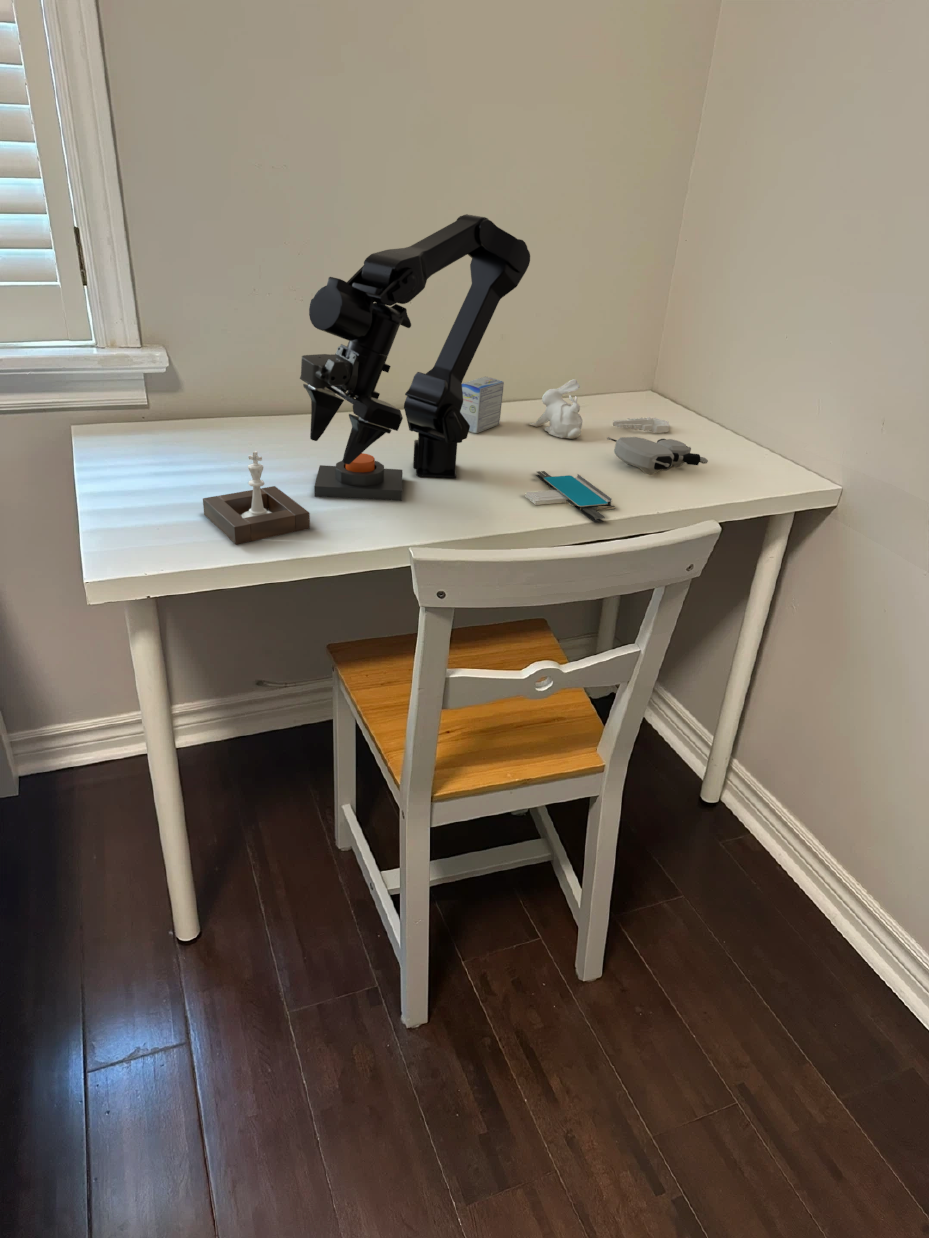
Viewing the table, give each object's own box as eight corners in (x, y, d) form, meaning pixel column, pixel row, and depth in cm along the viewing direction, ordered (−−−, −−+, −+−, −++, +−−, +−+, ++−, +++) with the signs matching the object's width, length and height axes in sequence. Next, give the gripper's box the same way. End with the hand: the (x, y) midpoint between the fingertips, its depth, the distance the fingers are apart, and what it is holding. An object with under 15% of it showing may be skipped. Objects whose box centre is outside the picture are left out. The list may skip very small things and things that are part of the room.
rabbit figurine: (527, 424, 168) (533, 374, 163) (558, 420, 171) (564, 372, 167) (565, 443, 159) (573, 391, 154) (596, 439, 163) (605, 388, 158)
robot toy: (661, 455, 160) (599, 458, 152) (667, 431, 158) (605, 433, 150) (708, 477, 151) (645, 482, 144) (715, 453, 149) (651, 456, 141)
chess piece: (267, 530, 117) (264, 460, 112) (233, 525, 117) (229, 454, 113) (281, 517, 121) (280, 449, 116) (249, 512, 122) (245, 444, 117)
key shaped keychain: (622, 436, 166) (623, 427, 165) (608, 428, 170) (610, 419, 169) (677, 432, 171) (679, 423, 170) (662, 424, 175) (664, 416, 174)
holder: (275, 501, 126) (274, 485, 124) (310, 529, 118) (309, 512, 117) (203, 515, 120) (202, 498, 118) (235, 544, 112) (234, 527, 111)
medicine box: (481, 420, 168) (485, 375, 163) (500, 425, 166) (504, 380, 161) (457, 428, 162) (460, 382, 158) (476, 434, 160) (480, 388, 156)
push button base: (402, 479, 137) (402, 458, 135) (401, 501, 129) (402, 479, 128) (319, 475, 136) (319, 454, 134) (314, 497, 128) (314, 474, 126)
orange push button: (375, 464, 133) (375, 453, 132) (374, 474, 129) (374, 463, 129) (346, 463, 133) (346, 452, 132) (344, 473, 129) (344, 462, 128)
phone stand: (503, 478, 141) (504, 468, 140) (566, 473, 146) (568, 463, 145) (560, 527, 125) (561, 516, 125) (629, 519, 130) (631, 509, 129)
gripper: (288, 311, 120) (252, 416, 125) (359, 350, 108) (316, 464, 113) (350, 336, 128) (314, 433, 133) (423, 375, 116) (380, 480, 121)
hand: (329, 451), depth 125 cm, fingers open, 9 cm apart
